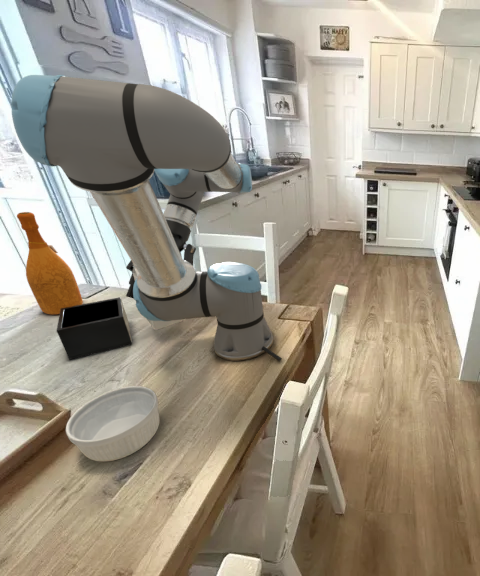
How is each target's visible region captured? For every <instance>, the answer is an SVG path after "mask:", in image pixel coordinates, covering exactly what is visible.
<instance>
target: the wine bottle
mask: <svg viewBox="0 0 480 576" xmlns="http://www.w3.org/2000/svg"><path fill="white" fill-rule="evenodd" d="M16 217H17V220H18V222H19V223H20V226H21V229H22V230H23V231H25V234H26V237H27V246H28V254H27V259H26V264H25V265H26V266H25V278H26V281H27V283H28V286H29V288H30V290H31V292H32V295H33V297H34V299H35V301H36V302H37V305H38V306H39V308H40V310H41V312H43V313H44V314H46V315H60V310H61V308H65V307H71V306H76V305H81V304H84V302H83V301H84V300H83V297H82V295H81V291H80V288H79V285H78V283H77V280H76V277H75V275H74V273H73V270H72V269H71V267H70V266H69V265H68V264H67V262H66V261H65V260H64V259H63V258H61V256H59V255H58V253H59V252H58V251H57V249H56V248H55V247H54V246H53V245H52V244H48V242H46V241H45V239H44V238H43V236H42V235H41V233H40V231H39V228H40V226H39V224H38V223H37V220H36V215H35V214H34V213H33V212H30V211H22V212H18V213H17V214H16Z"/></svg>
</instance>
